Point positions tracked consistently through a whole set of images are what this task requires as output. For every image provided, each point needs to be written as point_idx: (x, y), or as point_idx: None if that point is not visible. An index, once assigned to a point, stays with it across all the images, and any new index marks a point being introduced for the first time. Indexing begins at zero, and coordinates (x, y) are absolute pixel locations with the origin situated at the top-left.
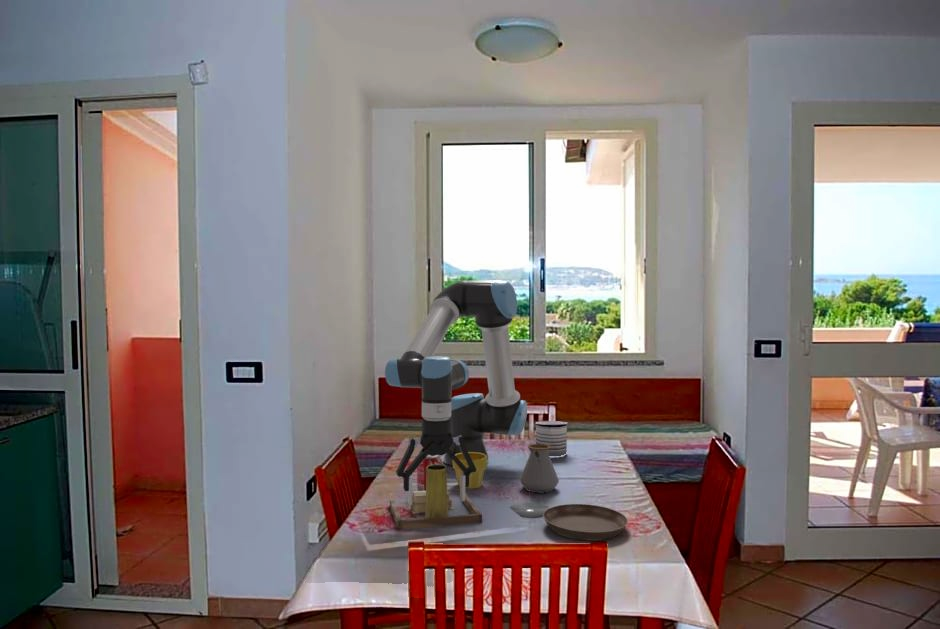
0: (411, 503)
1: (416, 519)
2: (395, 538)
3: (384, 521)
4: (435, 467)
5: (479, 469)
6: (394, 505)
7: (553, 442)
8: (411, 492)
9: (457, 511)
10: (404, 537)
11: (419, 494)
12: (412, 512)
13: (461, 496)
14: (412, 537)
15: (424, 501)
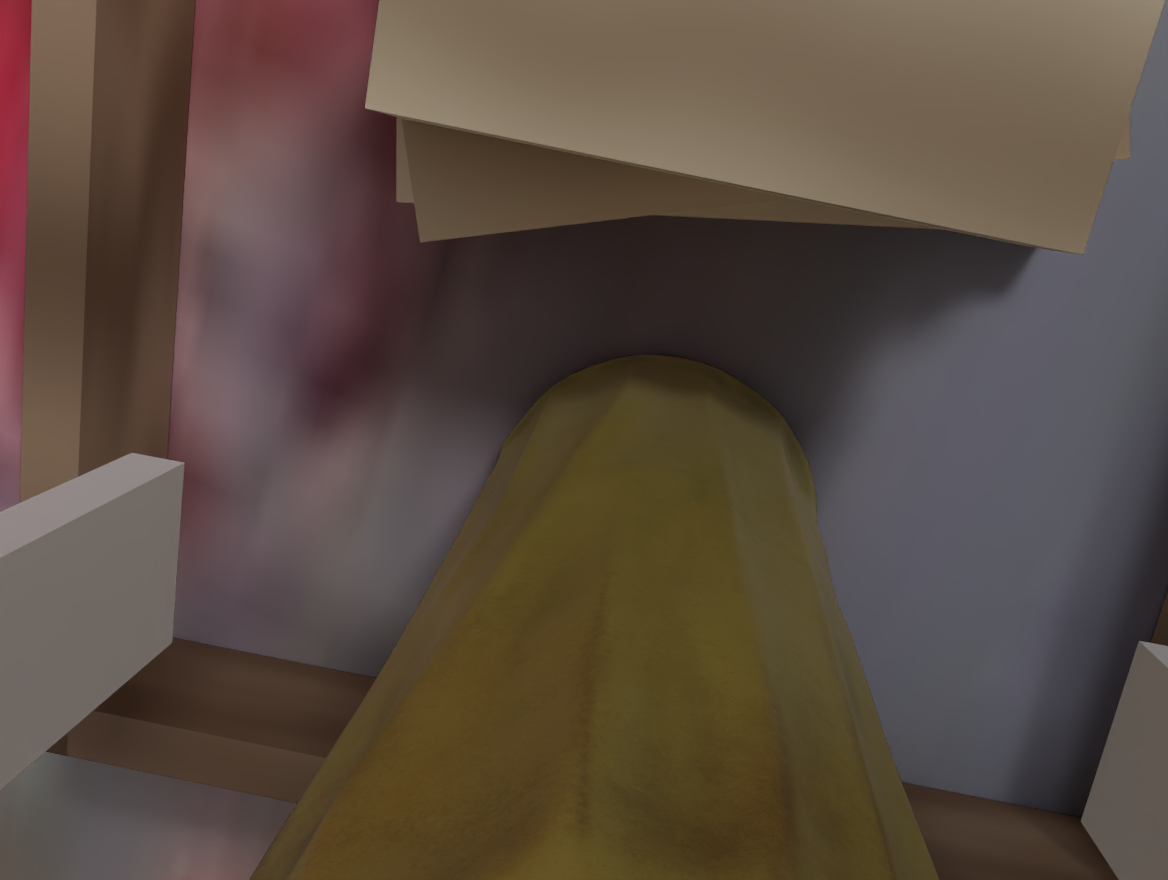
0: (148, 648)
1: (257, 774)
2: (57, 772)
3: (13, 182)
4: (675, 870)
5: None
6: (69, 26)
7: None
8: (21, 754)
9: (1139, 183)
10: (153, 787)
11: (476, 49)
12: (400, 137)
13: (1131, 793)
14: (235, 822)
15: (572, 152)
